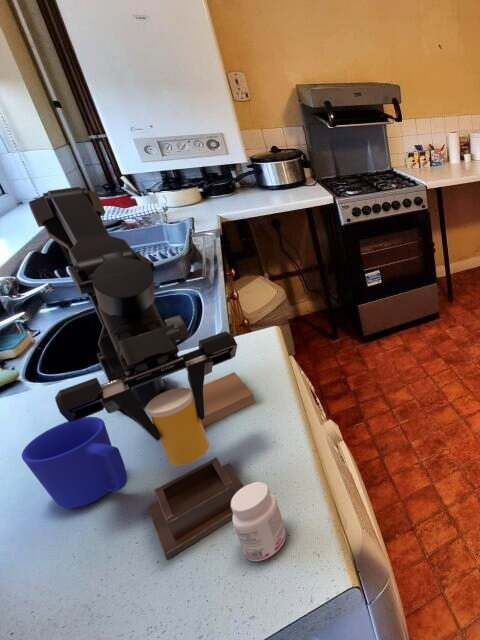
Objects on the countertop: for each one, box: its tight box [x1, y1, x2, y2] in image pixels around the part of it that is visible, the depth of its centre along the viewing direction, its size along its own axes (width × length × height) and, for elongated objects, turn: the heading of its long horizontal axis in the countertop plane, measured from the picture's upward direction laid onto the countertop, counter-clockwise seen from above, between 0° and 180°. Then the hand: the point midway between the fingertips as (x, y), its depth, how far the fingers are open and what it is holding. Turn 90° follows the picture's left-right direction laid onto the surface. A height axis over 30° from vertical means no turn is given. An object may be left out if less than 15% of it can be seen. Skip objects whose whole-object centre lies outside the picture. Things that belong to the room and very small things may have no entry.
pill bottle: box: [231, 481, 287, 562], centre depth 54 cm, size 5×5×8 cm
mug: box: [21, 416, 128, 509], centre depth 61 cm, size 8×12×10 cm
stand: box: [147, 456, 245, 561], centre depth 60 cm, size 10×10×4 cm
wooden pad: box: [200, 371, 256, 428], centre depth 80 cm, size 10×10×2 cm
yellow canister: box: [145, 387, 210, 466], centre depth 58 cm, size 5×5×9 cm
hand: (181, 429), depth 57 cm, fingers closed on yellow canister, 4 cm apart
